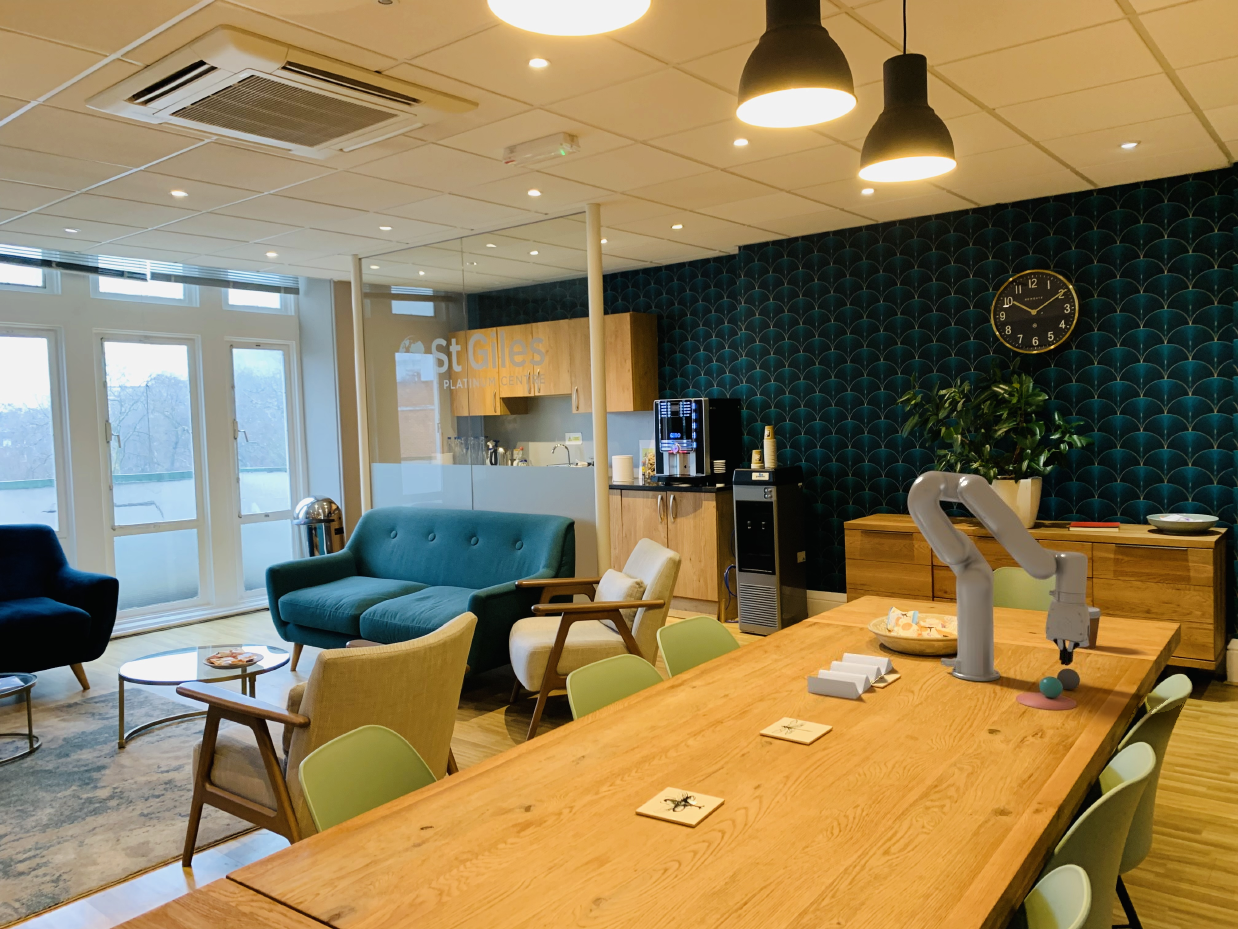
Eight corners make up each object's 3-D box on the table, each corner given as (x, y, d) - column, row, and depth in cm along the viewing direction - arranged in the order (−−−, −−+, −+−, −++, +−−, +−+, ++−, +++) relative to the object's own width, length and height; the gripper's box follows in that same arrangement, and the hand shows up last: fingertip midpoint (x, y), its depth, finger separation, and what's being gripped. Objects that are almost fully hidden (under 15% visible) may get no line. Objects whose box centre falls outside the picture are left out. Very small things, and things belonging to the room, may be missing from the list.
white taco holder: (893, 669, 263) (893, 652, 263) (855, 702, 234) (855, 682, 234) (850, 664, 270) (849, 647, 270) (807, 694, 241) (807, 676, 241)
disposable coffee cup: (1093, 642, 285) (1093, 605, 284) (1106, 650, 276) (1106, 611, 275) (1062, 642, 286) (1062, 605, 285) (1074, 650, 276) (1074, 612, 276)
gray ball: (1065, 667, 241) (1061, 687, 241) (1055, 665, 238) (1051, 685, 238) (1085, 672, 237) (1081, 693, 236) (1075, 670, 234) (1071, 691, 233)
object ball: (1049, 693, 234) (1042, 703, 230) (1039, 674, 234) (1032, 684, 231) (1069, 690, 230) (1062, 700, 226) (1059, 671, 230) (1052, 681, 227)
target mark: (1015, 706, 224) (1015, 705, 224) (1015, 691, 237) (1015, 690, 237) (1078, 712, 218) (1078, 712, 218) (1074, 696, 231) (1074, 695, 231)
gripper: (1036, 595, 244) (1032, 660, 245) (1095, 604, 233) (1091, 673, 235) (1045, 591, 249) (1041, 655, 250) (1104, 600, 239) (1100, 667, 240)
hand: (1065, 664), depth 242 cm, fingers closed
